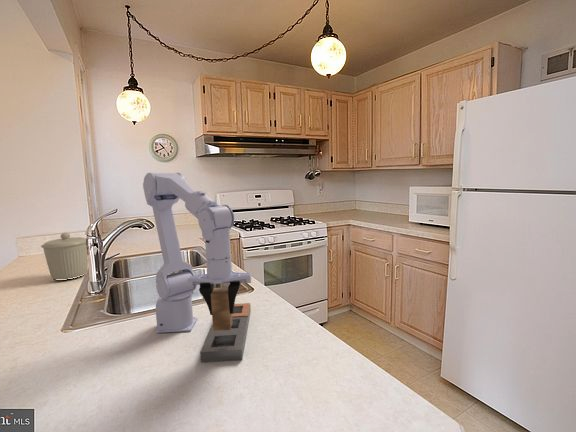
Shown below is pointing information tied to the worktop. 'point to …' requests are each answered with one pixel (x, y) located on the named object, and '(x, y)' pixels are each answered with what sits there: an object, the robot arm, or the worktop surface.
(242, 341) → the rail
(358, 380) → the worktop surface
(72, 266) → the canister
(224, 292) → the peg
